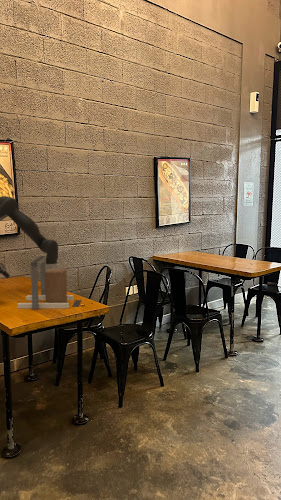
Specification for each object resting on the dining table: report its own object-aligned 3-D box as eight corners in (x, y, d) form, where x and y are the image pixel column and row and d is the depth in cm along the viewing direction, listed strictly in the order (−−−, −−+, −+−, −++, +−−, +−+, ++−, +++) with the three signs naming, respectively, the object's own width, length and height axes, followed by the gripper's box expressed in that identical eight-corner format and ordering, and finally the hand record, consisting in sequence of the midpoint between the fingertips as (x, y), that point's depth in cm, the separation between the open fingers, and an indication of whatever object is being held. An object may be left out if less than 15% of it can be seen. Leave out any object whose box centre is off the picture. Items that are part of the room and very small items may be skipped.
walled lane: (27, 299, 233) (26, 295, 233) (73, 299, 234) (73, 295, 234) (17, 308, 213) (17, 304, 213) (68, 308, 214) (68, 303, 214)
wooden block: (62, 306, 218) (61, 271, 216) (45, 305, 219) (44, 271, 217) (67, 301, 228) (66, 268, 226) (51, 301, 229) (50, 268, 227)
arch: (41, 298, 235) (40, 256, 232) (46, 298, 236) (45, 256, 232) (32, 309, 212) (30, 262, 209) (37, 309, 212) (36, 262, 209)
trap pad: (75, 300, 231) (75, 300, 231) (81, 300, 231) (81, 300, 231) (72, 306, 217) (72, 306, 217) (78, 306, 217) (78, 306, 217)
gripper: (-14, 252, 212) (9, 274, 214) (-6, 249, 225) (16, 270, 227) (-23, 262, 213) (0, 284, 215) (-15, 258, 226) (7, 279, 228)
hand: (8, 277), depth 221 cm, fingers closed
